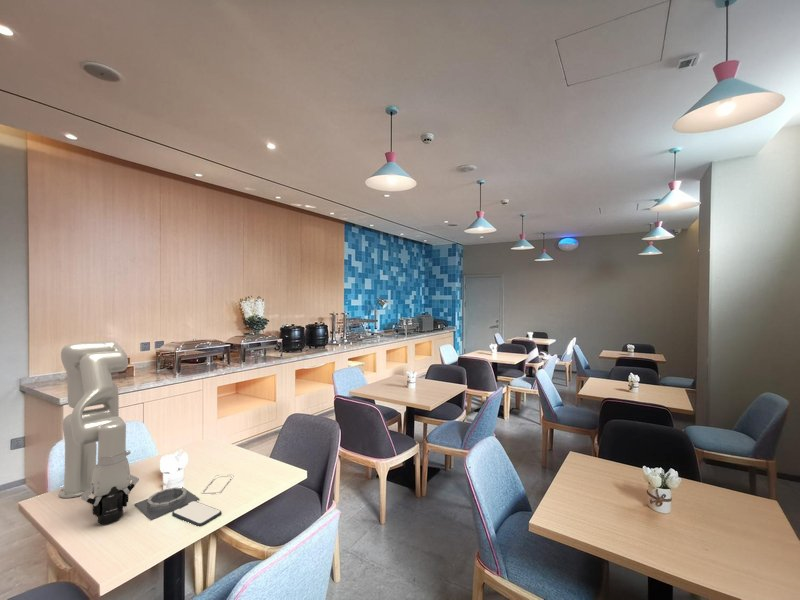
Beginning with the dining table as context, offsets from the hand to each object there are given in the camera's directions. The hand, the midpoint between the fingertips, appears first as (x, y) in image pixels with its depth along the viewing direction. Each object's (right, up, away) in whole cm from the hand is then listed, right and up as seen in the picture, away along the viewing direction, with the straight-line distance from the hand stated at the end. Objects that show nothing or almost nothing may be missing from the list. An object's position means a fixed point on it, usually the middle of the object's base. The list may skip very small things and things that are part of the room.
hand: (110, 509), depth 122 cm
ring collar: (+13, -4, +10) cm, 17 cm away
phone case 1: (+28, -4, +3) cm, 29 cm away
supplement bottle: (0, -4, 0) cm, 4 cm away
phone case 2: (+25, -5, +24) cm, 35 cm away
